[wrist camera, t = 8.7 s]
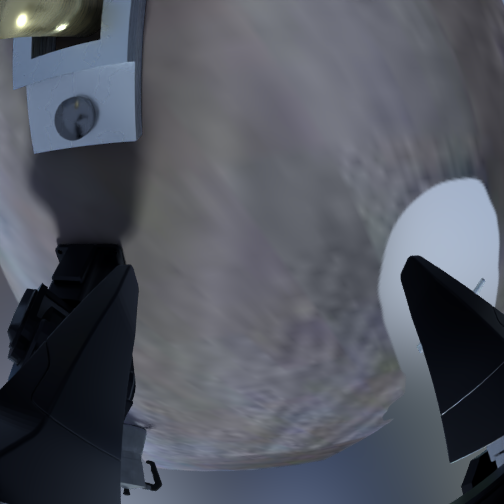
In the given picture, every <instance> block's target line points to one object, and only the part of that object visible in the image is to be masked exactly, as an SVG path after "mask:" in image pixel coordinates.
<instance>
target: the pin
mask: <svg viewBox="0 0 504 504" xmlns="http://www.w3.org/2000/svg"><path fill="white" fill-rule="evenodd" d="M103 1H104V0H0V39H6V38H18V37H39V36H60V37H87V36H89V35H92V34H93V33H95V32H96V31H98V30H99V29H100V28H101V21H102V10H103Z"/></svg>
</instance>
